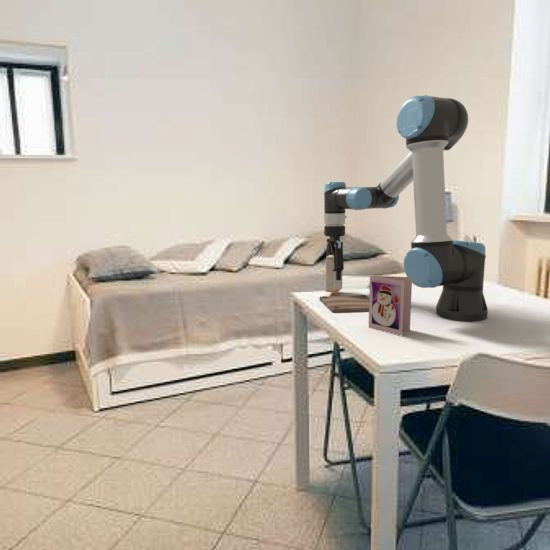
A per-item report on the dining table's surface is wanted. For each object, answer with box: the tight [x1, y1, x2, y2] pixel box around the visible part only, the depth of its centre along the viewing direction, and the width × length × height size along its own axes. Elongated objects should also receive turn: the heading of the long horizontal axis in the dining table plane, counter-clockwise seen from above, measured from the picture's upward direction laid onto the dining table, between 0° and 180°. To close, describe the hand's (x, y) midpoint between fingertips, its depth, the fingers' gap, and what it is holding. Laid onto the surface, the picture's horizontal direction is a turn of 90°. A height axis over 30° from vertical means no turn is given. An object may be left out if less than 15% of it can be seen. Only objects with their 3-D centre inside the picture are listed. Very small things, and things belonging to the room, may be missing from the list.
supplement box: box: [325, 255, 344, 294], centre depth 194 cm, size 8×5×13 cm, turn 161°
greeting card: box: [368, 275, 413, 336], centre depth 147 cm, size 11×7×15 cm, turn 42°
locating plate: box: [319, 294, 369, 313], centre depth 177 cm, size 18×17×2 cm
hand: (334, 286), depth 194 cm, fingers closed on supplement box, 9 cm apart
